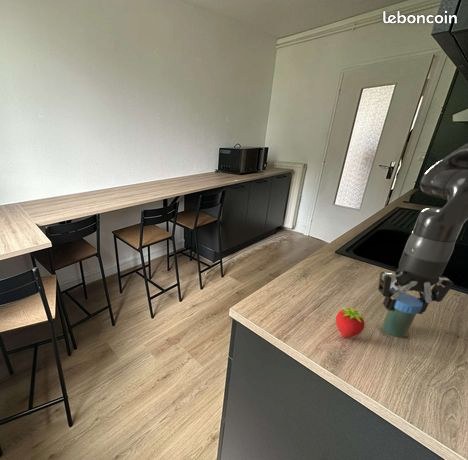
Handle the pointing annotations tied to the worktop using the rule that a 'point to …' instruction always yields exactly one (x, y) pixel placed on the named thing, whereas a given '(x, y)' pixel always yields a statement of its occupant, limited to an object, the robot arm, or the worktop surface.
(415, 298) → the jar lid
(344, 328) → the strawberry
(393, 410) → the worktop surface
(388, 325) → the jar
